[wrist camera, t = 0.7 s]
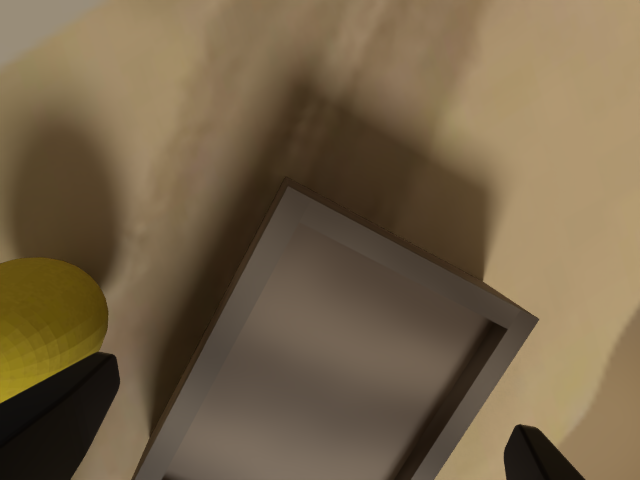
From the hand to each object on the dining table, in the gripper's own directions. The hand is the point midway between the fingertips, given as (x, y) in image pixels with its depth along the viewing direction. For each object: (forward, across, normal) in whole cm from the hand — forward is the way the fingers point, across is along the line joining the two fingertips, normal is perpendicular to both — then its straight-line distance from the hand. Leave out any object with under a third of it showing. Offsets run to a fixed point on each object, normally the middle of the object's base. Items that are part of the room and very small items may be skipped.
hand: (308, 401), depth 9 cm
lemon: (+9, +13, +6) cm, 17 cm away
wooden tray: (+11, 0, +9) cm, 14 cm away
